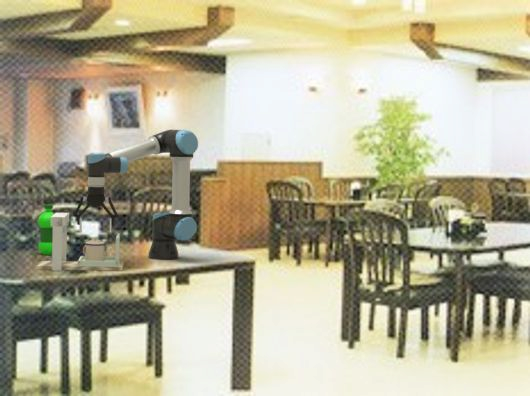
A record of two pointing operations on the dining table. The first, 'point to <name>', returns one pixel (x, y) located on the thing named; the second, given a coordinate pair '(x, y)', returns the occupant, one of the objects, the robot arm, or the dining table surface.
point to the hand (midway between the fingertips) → (95, 232)
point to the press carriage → (107, 261)
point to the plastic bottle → (46, 231)
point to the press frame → (59, 239)
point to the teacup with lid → (94, 250)
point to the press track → (76, 266)
